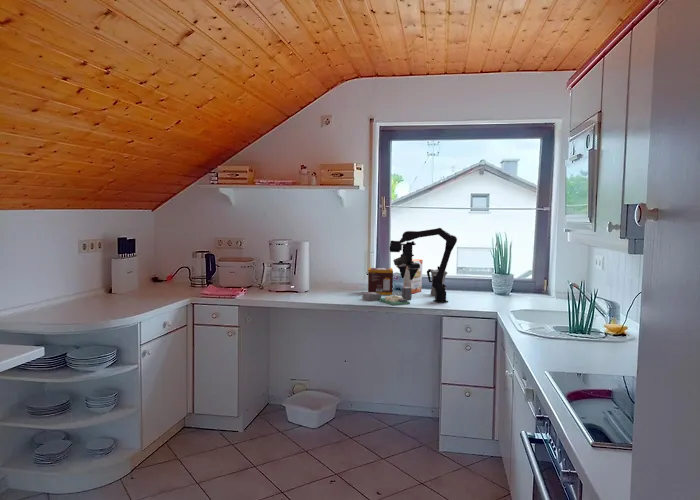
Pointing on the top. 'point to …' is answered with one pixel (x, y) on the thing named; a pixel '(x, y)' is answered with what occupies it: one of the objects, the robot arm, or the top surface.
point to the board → (394, 300)
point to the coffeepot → (432, 278)
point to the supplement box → (380, 280)
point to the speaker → (371, 296)
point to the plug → (406, 293)
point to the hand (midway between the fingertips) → (406, 279)
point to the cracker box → (414, 278)
